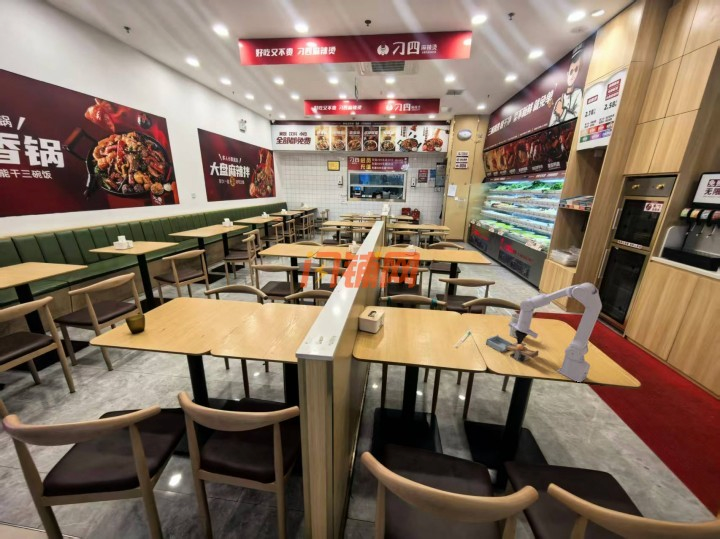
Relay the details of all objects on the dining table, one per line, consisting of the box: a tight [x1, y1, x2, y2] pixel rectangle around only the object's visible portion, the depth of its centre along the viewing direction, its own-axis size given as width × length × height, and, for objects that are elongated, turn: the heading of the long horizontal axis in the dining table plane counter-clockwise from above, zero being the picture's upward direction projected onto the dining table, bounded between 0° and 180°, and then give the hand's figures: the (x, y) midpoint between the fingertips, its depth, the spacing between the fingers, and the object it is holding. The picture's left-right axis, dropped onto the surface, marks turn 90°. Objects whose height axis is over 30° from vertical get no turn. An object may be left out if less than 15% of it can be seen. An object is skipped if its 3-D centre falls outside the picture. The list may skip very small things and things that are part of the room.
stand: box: [509, 346, 531, 364], centre depth 143 cm, size 6×7×5 cm
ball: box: [517, 344, 525, 350], centre depth 143 cm, size 3×3×3 cm
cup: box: [508, 313, 520, 339], centre depth 164 cm, size 8×8×12 cm
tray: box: [485, 334, 514, 353], centre depth 153 cm, size 9×9×4 cm
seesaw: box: [505, 341, 540, 359], centre depth 144 cm, size 14×12×2 cm
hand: (519, 343), depth 150 cm, fingers closed
